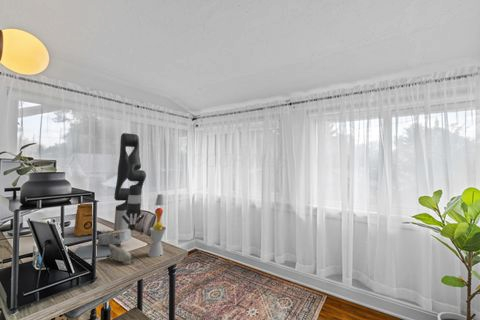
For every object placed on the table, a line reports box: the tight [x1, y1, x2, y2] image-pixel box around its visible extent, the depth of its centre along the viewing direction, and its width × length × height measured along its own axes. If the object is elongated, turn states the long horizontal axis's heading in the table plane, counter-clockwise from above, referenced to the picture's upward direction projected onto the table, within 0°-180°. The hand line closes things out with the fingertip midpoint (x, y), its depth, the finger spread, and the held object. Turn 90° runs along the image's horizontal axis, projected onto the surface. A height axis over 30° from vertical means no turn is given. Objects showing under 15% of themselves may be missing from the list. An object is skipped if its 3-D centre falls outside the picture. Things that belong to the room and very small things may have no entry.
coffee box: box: [97, 228, 132, 245], centre depth 134 cm, size 9×6×16 cm
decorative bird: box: [105, 244, 132, 265], centre depth 114 cm, size 5×16×8 cm, turn 65°
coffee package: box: [73, 203, 93, 237], centre depth 151 cm, size 10×12×22 cm
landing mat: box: [74, 243, 122, 260], centre depth 124 cm, size 20×22×1 cm
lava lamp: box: [147, 193, 167, 258], centre depth 126 cm, size 9×9×35 cm
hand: (132, 230), depth 132 cm, fingers closed
